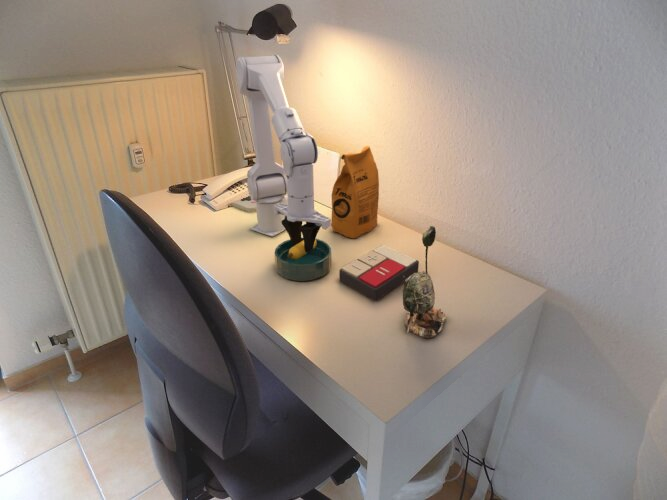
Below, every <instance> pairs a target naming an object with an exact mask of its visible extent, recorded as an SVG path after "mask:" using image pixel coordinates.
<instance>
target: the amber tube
mask: <svg viewBox="0 0 667 500" xmlns="http://www.w3.org/2000/svg"><path fill="white" fill-rule="evenodd" d="M316 245H317V242H316V240H315V242H314V246H313V249H314V248H315V247H316ZM305 254H307V252H305V249H304V240H303V241H301V242H300V243H298V244H296V245H295V246H293V247H292V248H291V249H290V250H289V254H288V255H287V257H288V258H291V259H294V260H297V259H299V258H301V257H302V256H304V255H305Z"/></svg>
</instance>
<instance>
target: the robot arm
mask: <svg viewBox="0 0 667 500" xmlns="http://www.w3.org/2000/svg"><path fill="white" fill-rule="evenodd" d="M235 71H236V79H237V87H238V91H239V94H240V95H243V96H245V97H246V99H247V104H248V109H249V116H250V125H251V131H252V133H251V134H252V139H253V147H254V155H255V161H256V162H255V163H254V164H253V165H252V166H251V167H250V168H249V169H248V170H247V173H246V176H247V177H246V178H247V181H246V185H247V186H246V187H247V191H248V194H249V195H250V197H251V199H253V200H254V201H256V210H257V211H256V218H257V219H256V220H257V224H256V225H253V226H252V227H250V228H251V230H252V231H254V232H257V233H260V234H263V235H266V236H269V237H271V238H273V237H275V236H277V235H279V234H281V233H282V232H284V231H286V233H287V234H288V236H289V240H290V239H291V242H292V245H293V246H295V245H296V244H298V243H300V242H301V238H303V239H304V249H305V252H307V253H308V252H310V251H311V250H313V246H314V242H315V238H316V239H317V236H318V233H319V231H320V229H322V230H327V229H329V228H330V227H332V226H331V222H332V217H328V216H326V215H325V214H322V213H321V212H319V211H318V210H315V190H314V189H315V187H314V186H315V184H314V164H316V163H317V162H318V159H319V157H318V156H319V151H318V150H319V149H318V145H317V141H316V139H315V137H314V136H313V135H311V134H310V133H309V131H306V130H305V128H304V126H303V124H302V121H301V118H300V117H299V114H298V112H297V110H296V109H295V108H294V107H290V105H289V102H288V99H287V96H286V93H285V89H284V86H283V85H284V79H285V66H284V62H283V60H282V58H281V57H280V55H278V54H274V55H261V56H238V59H237V60H236V65H235ZM270 109H271V111H272V113H273V114H272V115H271V116H270ZM272 127H273V129H274V131H275V134H276V136H277V138H278V141H279V143H280V149H279V153H280V158H281V161H282V164H279V163H278V162H276V157H275V150H274V139H273V132H272Z"/></svg>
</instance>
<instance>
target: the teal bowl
mask: <svg viewBox="0 0 667 500" xmlns="http://www.w3.org/2000/svg"><path fill="white" fill-rule="evenodd" d="M303 240H304V239H303V237H301V241H303ZM315 240H316V242H317V245H316V247H315V248H314V249H313V250H311V251H310V252H308V253H307V254H305V255H304V256H302V257H301V258H299V259H297V260H294V259H291V258H288V257H287V255H288V254H289V250H290V249H291V248H292V247H293V245H292V242H291V239H290V238H289V239H287V240H285V241H283V242H280V243H279V244H278V245H277V246H276V247H275V249H274V260H275V262H274V263H275V270H276V272H277V273H278V275H280V276H281V277H282V278H285V279H287V280H290V281H298V282H303V281H304V282H305V281H313V280H317V279H319V278H321V277H324V276H325V275H327V274H328V273H329V272H330V270H331V269H332V248H331V246H330V244H329V243H328V242H326V241H324V240H321V239H318V238H317V237H316V238H315Z"/></svg>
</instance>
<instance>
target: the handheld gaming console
mask: <svg viewBox="0 0 667 500" xmlns="http://www.w3.org/2000/svg"><path fill="white" fill-rule="evenodd" d="M230 206H231V207H234V208H235V209H236V208H237V209H239V210H242V211H245V212H247V213H254V212H257V210H256V201H254V200H253V199H251V197H250V196H248V197H246V198H243V199H241V200H239V201H236V202H233V203H231V202H230Z"/></svg>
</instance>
